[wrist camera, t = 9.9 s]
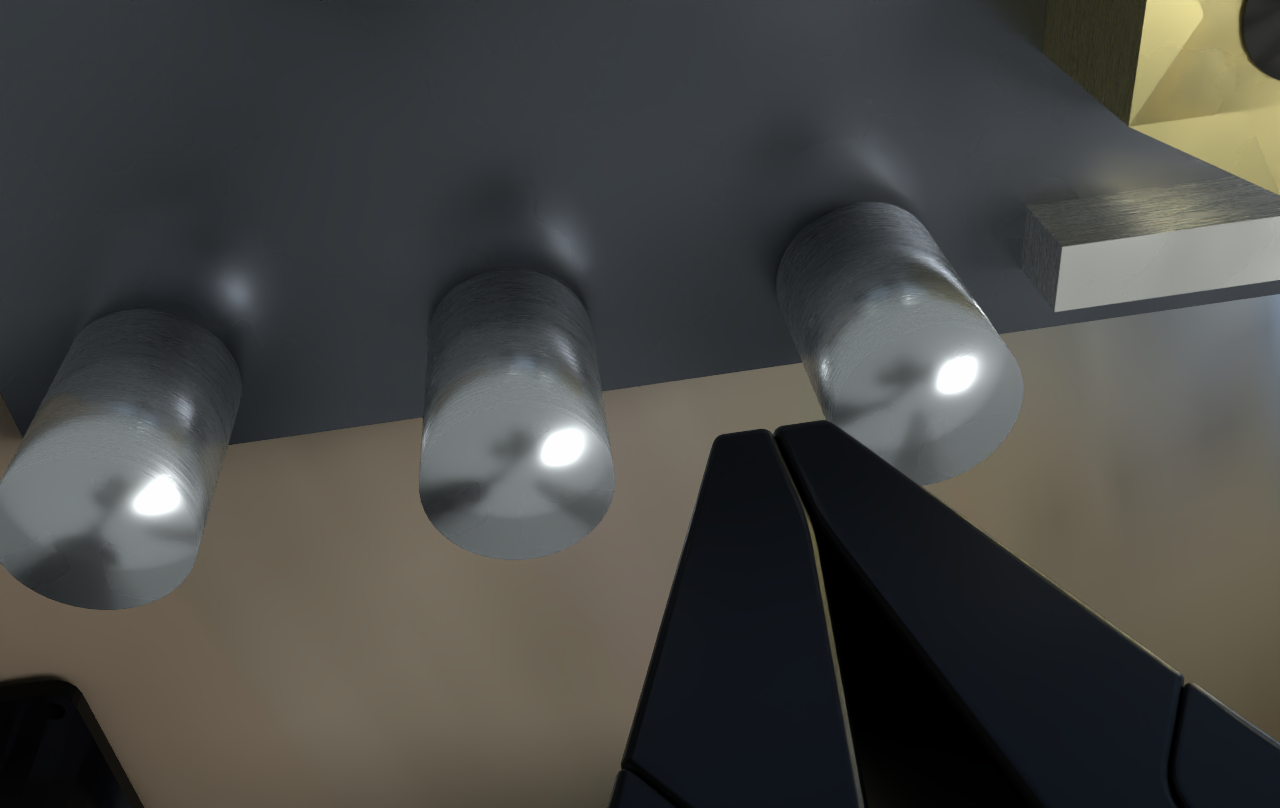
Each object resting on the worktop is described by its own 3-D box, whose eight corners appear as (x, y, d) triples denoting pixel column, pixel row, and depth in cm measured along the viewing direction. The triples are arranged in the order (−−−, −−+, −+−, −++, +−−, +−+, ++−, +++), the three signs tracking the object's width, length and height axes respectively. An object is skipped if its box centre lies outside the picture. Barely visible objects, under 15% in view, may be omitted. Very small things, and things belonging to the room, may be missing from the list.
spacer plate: (1386, 252, 23) (1586, 402, 19) (58, 443, 22) (-38, 643, 18) (1659, -665, 15) (2092, -750, 11) (-355, -429, 14) (-689, -430, 10)
